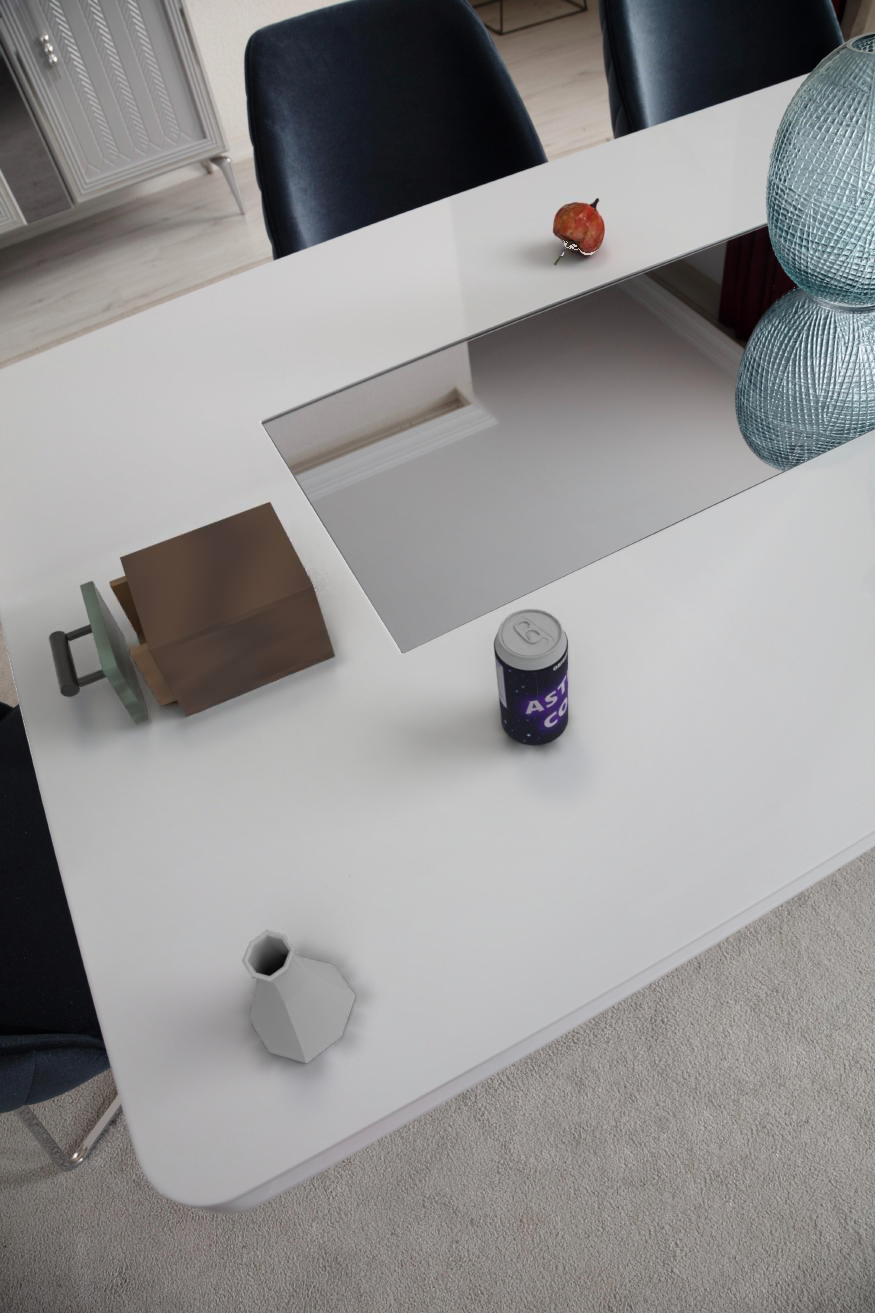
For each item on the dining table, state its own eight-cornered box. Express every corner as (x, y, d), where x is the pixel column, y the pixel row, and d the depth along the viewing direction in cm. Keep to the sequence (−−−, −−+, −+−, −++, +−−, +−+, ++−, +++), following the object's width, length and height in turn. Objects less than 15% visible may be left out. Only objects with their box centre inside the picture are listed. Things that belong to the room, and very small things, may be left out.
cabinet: (186, 717, 84) (149, 649, 77) (155, 626, 92) (119, 557, 84) (335, 656, 87) (313, 585, 79) (293, 572, 94) (270, 501, 87)
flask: (232, 1024, 66) (187, 972, 58) (297, 941, 69) (263, 881, 61) (309, 1084, 63) (272, 1037, 55) (373, 993, 66) (347, 937, 58)
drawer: (88, 744, 82) (50, 691, 76) (67, 657, 89) (31, 603, 83) (277, 667, 85) (255, 610, 79) (243, 589, 92) (221, 532, 86)
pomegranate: (581, 287, 127) (631, 225, 124) (549, 254, 122) (600, 189, 119) (555, 270, 132) (602, 210, 129) (524, 238, 127) (572, 175, 125)
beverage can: (527, 763, 77) (521, 673, 68) (489, 718, 80) (478, 627, 71) (582, 729, 78) (583, 637, 69) (542, 686, 82) (538, 593, 72)
